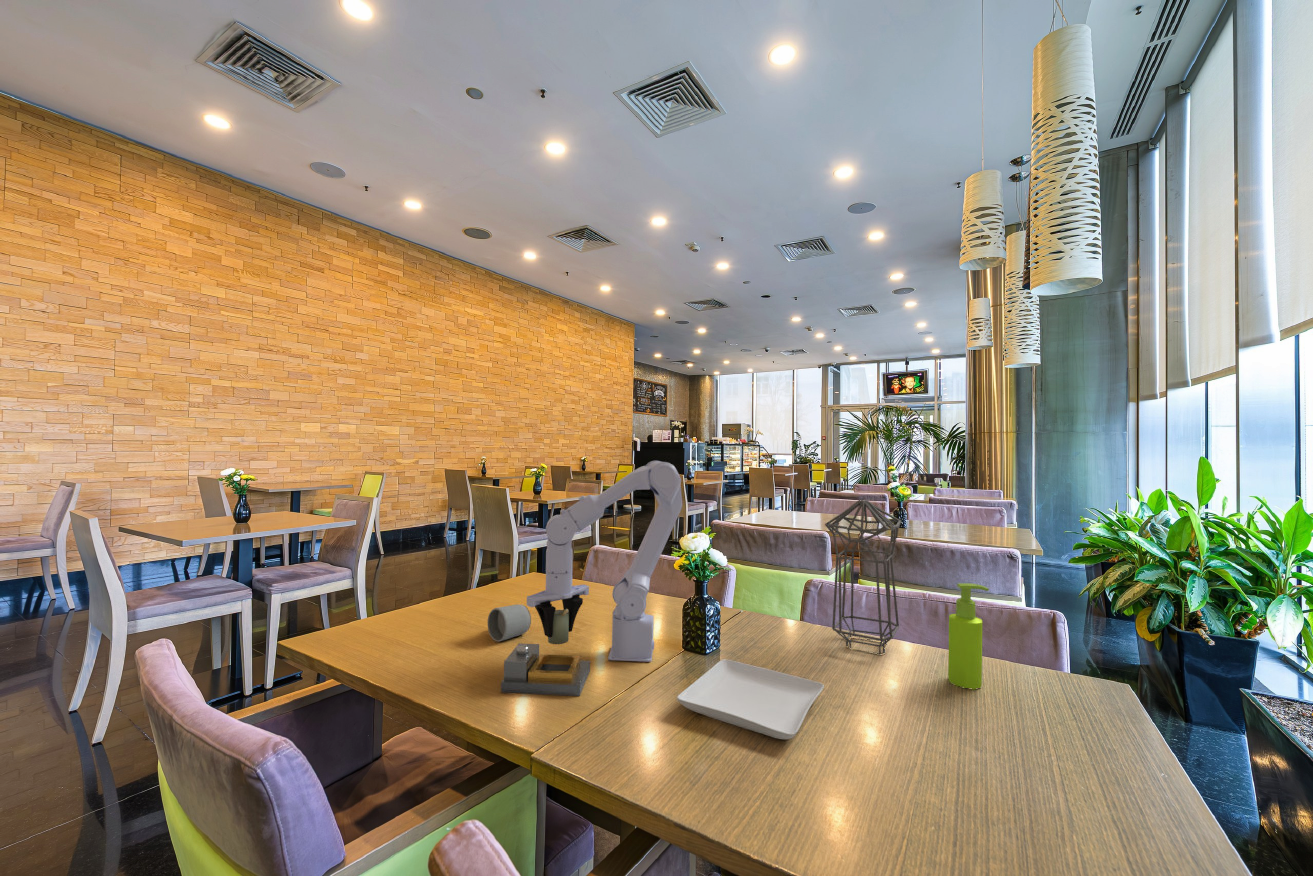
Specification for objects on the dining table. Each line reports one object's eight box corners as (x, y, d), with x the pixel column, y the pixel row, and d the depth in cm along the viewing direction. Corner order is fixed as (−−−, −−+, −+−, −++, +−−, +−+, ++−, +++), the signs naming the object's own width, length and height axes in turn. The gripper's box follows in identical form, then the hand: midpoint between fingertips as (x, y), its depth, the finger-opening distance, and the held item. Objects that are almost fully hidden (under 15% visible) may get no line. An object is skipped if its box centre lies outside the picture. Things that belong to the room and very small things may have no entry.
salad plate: (825, 699, 100) (826, 681, 100) (793, 755, 82) (794, 733, 82) (722, 672, 111) (722, 656, 111) (673, 717, 92) (674, 697, 92)
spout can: (561, 635, 118) (562, 601, 118) (575, 642, 114) (576, 607, 114) (544, 640, 115) (544, 605, 115) (558, 648, 111) (558, 611, 111)
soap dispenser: (992, 691, 103) (993, 589, 104) (953, 687, 105) (955, 587, 105) (980, 678, 109) (981, 581, 109) (944, 675, 111) (945, 579, 111)
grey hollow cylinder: (533, 635, 129) (533, 604, 129) (505, 645, 122) (505, 612, 122) (507, 626, 135) (507, 596, 135) (478, 635, 129) (479, 603, 129)
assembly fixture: (589, 670, 110) (590, 638, 110) (579, 696, 99) (580, 660, 99) (518, 667, 110) (519, 635, 110) (500, 692, 99) (501, 657, 99)
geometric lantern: (896, 666, 115) (894, 505, 115) (823, 651, 123) (821, 501, 123) (905, 642, 128) (903, 498, 129) (838, 630, 137) (837, 495, 137)
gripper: (538, 580, 107) (538, 647, 107) (597, 569, 117) (596, 630, 117) (522, 573, 113) (521, 637, 112) (579, 563, 122) (578, 622, 122)
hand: (558, 633), depth 115 cm, fingers closed on spout can, 4 cm apart
